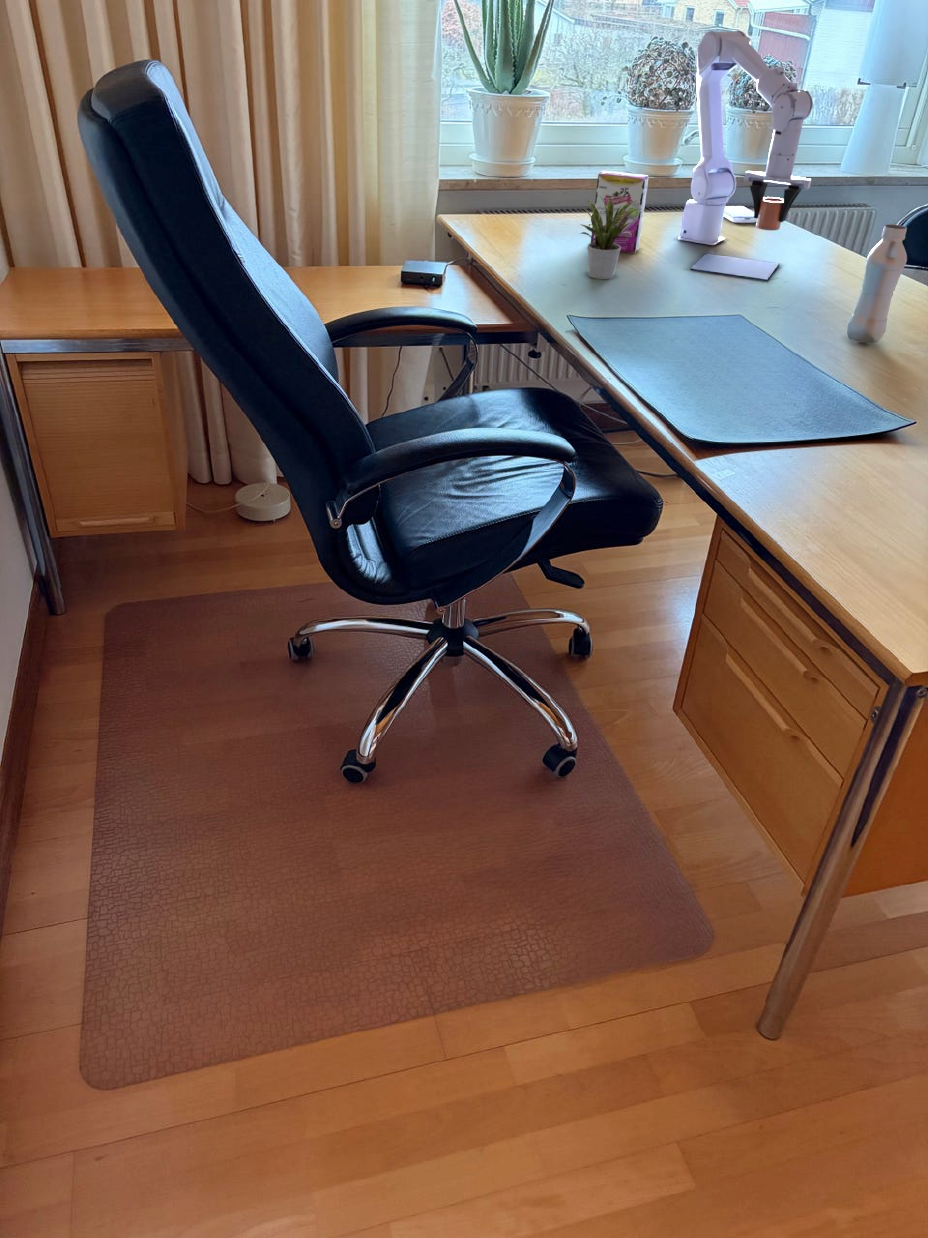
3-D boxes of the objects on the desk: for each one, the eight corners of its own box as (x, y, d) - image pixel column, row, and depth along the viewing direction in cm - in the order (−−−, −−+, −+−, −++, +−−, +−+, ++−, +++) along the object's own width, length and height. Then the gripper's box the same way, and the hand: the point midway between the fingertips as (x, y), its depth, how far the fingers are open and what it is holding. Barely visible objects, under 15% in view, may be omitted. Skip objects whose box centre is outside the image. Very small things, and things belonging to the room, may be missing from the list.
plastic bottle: (837, 335, 171) (868, 221, 160) (872, 335, 172) (905, 222, 160) (852, 347, 166) (885, 230, 154) (888, 347, 167) (923, 231, 155)
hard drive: (716, 206, 253) (733, 216, 244) (744, 205, 255) (762, 216, 245) (715, 212, 254) (732, 222, 244) (743, 211, 255) (761, 222, 246)
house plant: (647, 272, 203) (658, 193, 193) (629, 288, 193) (640, 205, 183) (586, 263, 208) (594, 185, 198) (565, 278, 197) (573, 197, 188)
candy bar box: (589, 248, 219) (596, 173, 209) (593, 243, 222) (601, 169, 213) (635, 253, 216) (645, 177, 206) (639, 248, 220) (649, 174, 210)
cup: (752, 227, 210) (758, 199, 206) (760, 223, 214) (765, 195, 210) (775, 231, 208) (781, 203, 204) (782, 227, 211) (788, 199, 208)
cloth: (690, 269, 206) (690, 268, 206) (706, 254, 217) (706, 253, 217) (766, 280, 200) (766, 279, 200) (778, 264, 211) (779, 263, 211)
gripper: (744, 151, 202) (732, 217, 210) (810, 159, 196) (795, 227, 204) (755, 147, 207) (743, 212, 215) (819, 155, 201) (804, 221, 209)
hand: (769, 219), depth 210 cm, fingers closed on cup, 5 cm apart
